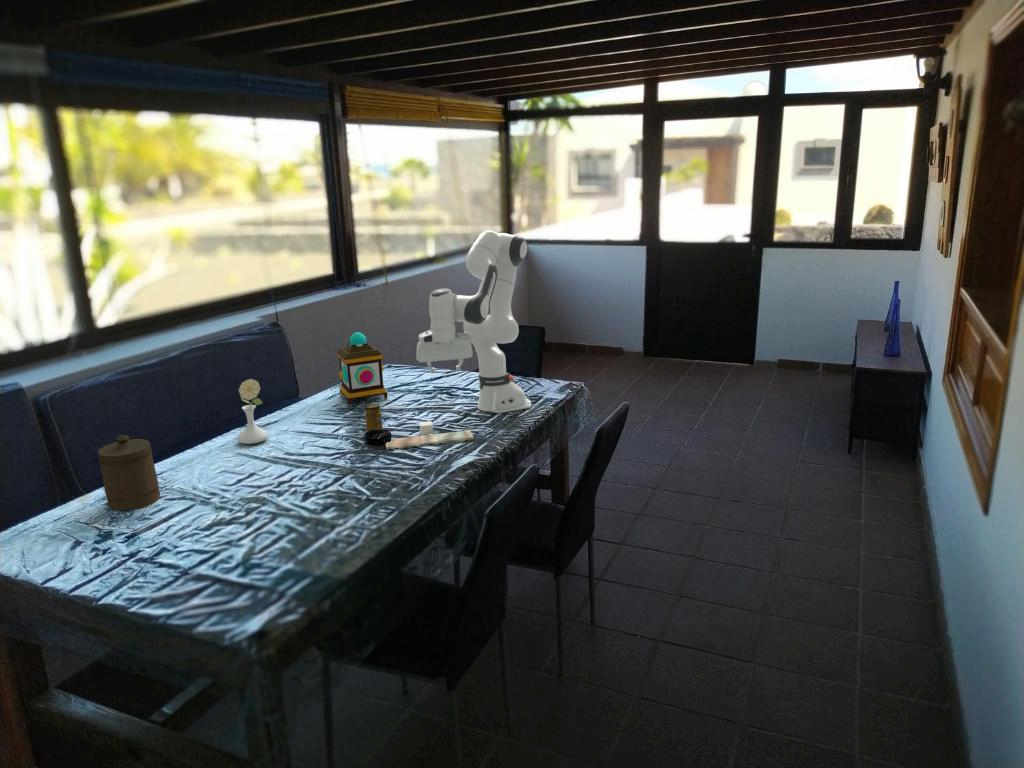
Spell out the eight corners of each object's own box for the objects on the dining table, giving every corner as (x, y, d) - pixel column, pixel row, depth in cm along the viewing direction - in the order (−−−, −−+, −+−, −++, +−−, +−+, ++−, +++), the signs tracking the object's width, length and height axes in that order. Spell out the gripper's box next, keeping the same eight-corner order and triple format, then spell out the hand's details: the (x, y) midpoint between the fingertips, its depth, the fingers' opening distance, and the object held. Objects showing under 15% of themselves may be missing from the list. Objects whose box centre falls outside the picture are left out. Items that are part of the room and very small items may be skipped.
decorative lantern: (336, 395, 336) (329, 330, 327) (379, 388, 344) (373, 325, 335) (346, 407, 318) (339, 339, 310) (391, 400, 326) (385, 333, 318)
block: (431, 430, 286) (431, 421, 285) (433, 434, 282) (432, 424, 281) (420, 432, 285) (419, 422, 284) (421, 436, 281) (420, 426, 280)
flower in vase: (231, 444, 280) (221, 380, 273) (254, 434, 290) (245, 372, 283) (256, 449, 274) (246, 384, 267) (278, 438, 284) (270, 376, 277)
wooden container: (147, 487, 245) (134, 424, 238) (169, 498, 236) (156, 433, 229) (100, 503, 234) (86, 438, 228) (121, 515, 225) (107, 447, 218)
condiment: (378, 431, 288) (376, 401, 285) (390, 436, 282) (387, 406, 278) (362, 435, 284) (359, 406, 280) (373, 441, 277) (370, 411, 274)
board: (470, 432, 282) (470, 429, 282) (473, 439, 275) (473, 436, 274) (385, 442, 276) (384, 439, 276) (386, 449, 268) (386, 446, 268)
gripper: (470, 330, 272) (472, 367, 276) (414, 335, 268) (417, 372, 271) (473, 333, 266) (475, 371, 270) (416, 338, 262) (418, 376, 266)
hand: (445, 371), depth 271 cm, fingers open, 8 cm apart
